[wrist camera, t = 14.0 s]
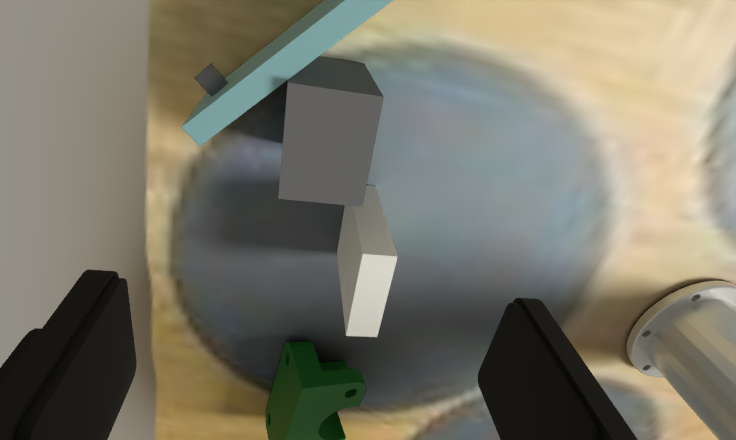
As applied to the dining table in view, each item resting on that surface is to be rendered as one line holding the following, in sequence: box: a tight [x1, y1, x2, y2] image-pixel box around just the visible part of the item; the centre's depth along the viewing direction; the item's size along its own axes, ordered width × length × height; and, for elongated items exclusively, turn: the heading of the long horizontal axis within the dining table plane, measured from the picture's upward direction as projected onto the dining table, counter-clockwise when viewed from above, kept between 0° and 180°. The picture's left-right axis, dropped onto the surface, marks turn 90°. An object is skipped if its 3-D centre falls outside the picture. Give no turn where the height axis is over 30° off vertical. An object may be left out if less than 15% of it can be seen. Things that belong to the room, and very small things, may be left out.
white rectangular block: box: [337, 185, 398, 337], centre depth 24 cm, size 2×27×9 cm, turn 170°
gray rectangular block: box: [278, 56, 383, 207], centre depth 25 cm, size 4×6×8 cm
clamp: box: [266, 341, 367, 440], centre depth 39 cm, size 12×6×9 cm, turn 158°
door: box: [181, 0, 393, 146], centre depth 22 cm, size 2×13×7 cm, turn 124°
